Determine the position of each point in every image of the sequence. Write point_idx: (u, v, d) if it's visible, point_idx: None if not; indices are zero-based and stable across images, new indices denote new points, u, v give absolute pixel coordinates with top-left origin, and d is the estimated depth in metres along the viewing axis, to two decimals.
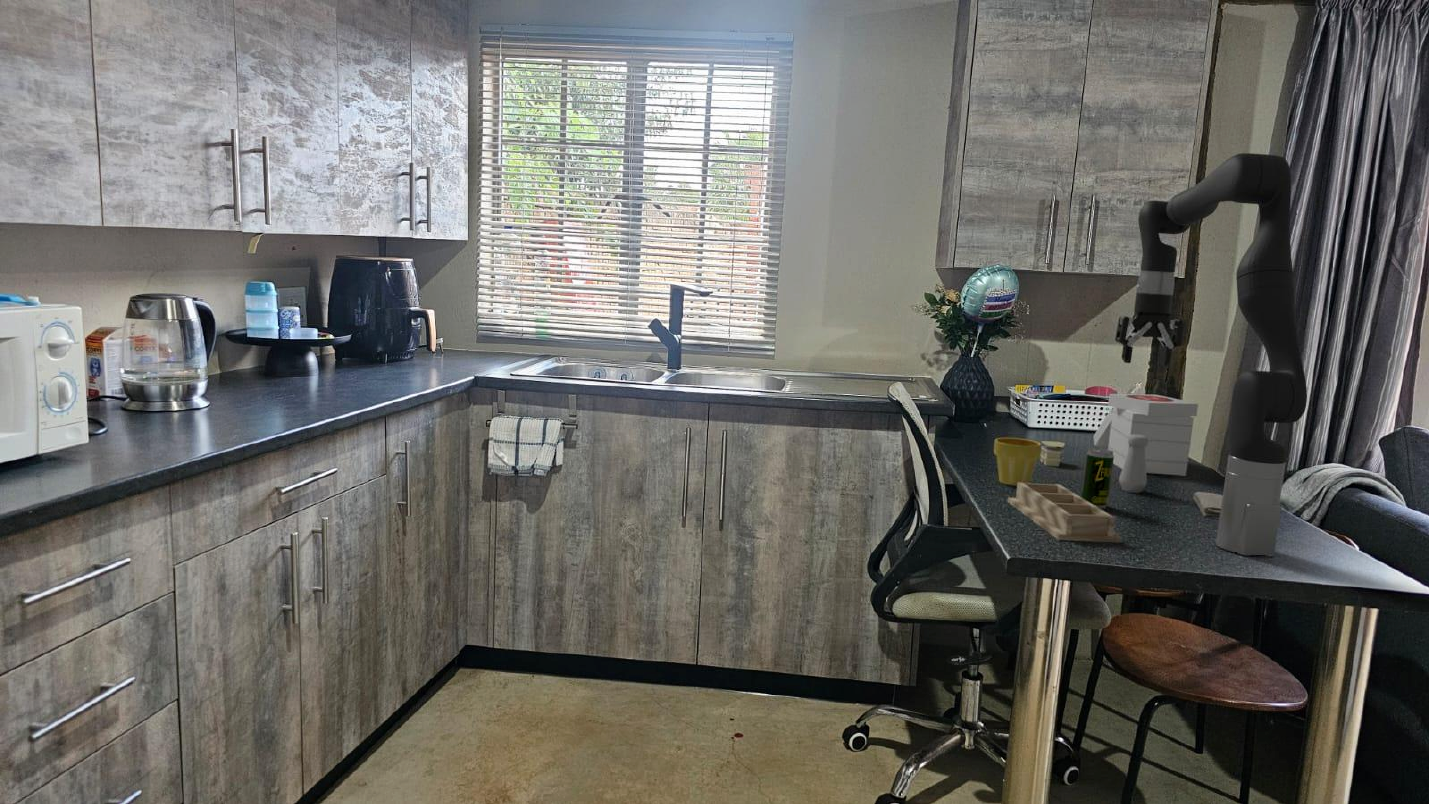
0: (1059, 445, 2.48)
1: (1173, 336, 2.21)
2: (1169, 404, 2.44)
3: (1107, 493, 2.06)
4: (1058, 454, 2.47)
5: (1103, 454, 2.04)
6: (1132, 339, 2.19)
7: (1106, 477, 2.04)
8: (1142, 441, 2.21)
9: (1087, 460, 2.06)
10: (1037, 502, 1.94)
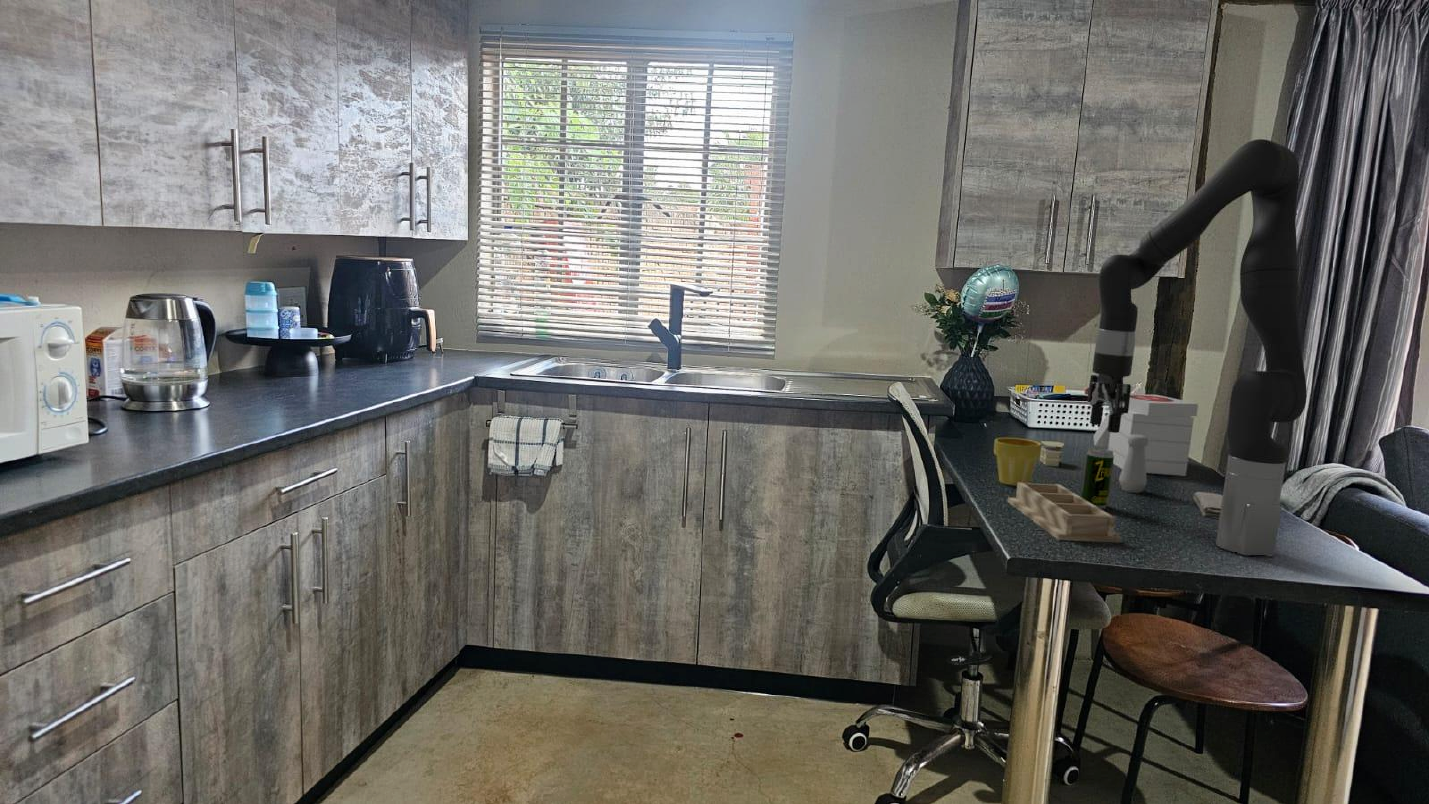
0: (1058, 445, 2.48)
1: None
2: (1169, 404, 2.44)
3: (1107, 493, 2.06)
4: (1057, 454, 2.47)
5: (1103, 454, 2.04)
6: None
7: (1106, 477, 2.04)
8: (1141, 441, 2.21)
9: (1087, 460, 2.06)
10: (1037, 502, 1.94)
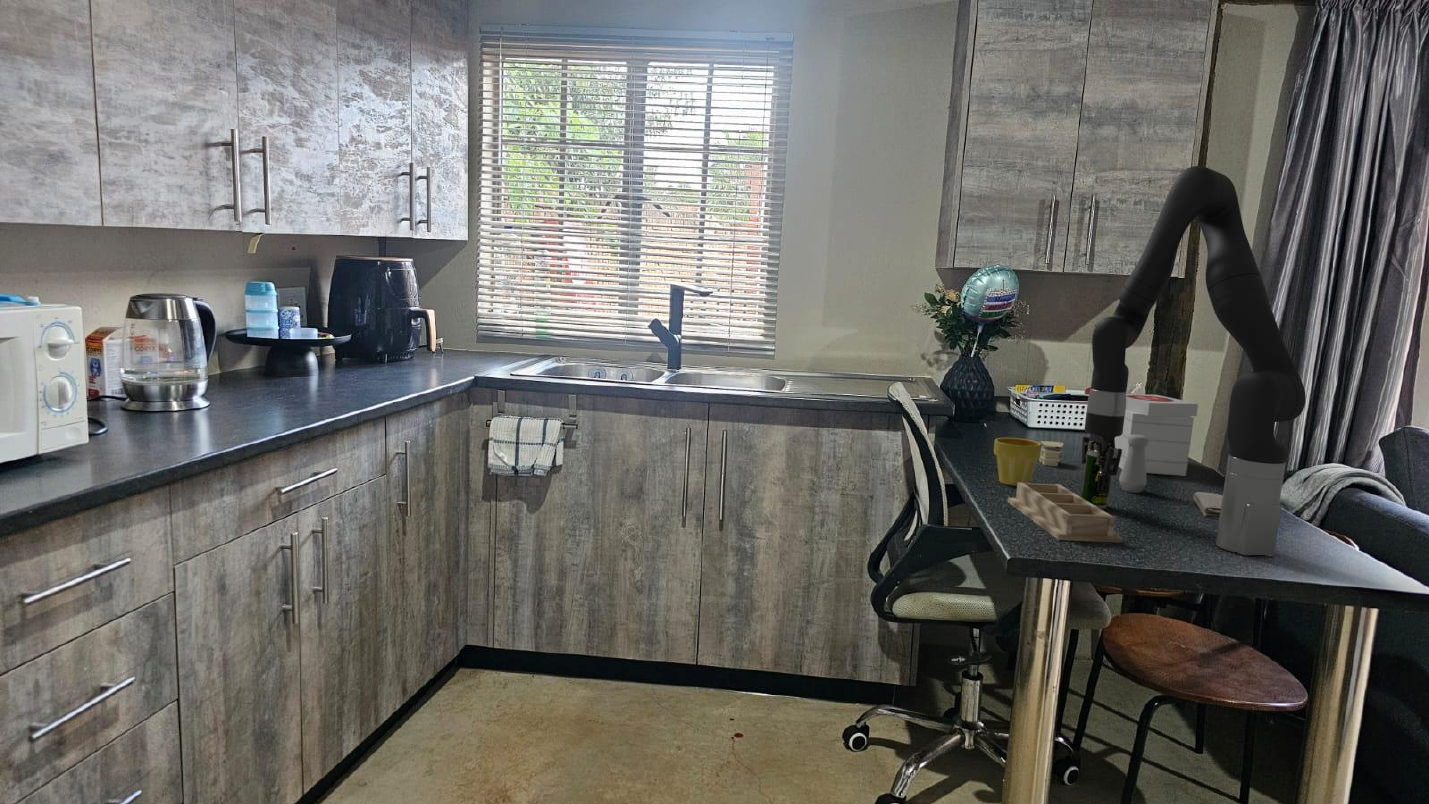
0: (1058, 445, 2.48)
1: None
2: (1169, 404, 2.44)
3: (1107, 493, 2.06)
4: (1056, 454, 2.47)
5: None
6: None
7: None
8: (1141, 441, 2.21)
9: (1087, 460, 2.06)
10: (1037, 502, 1.94)
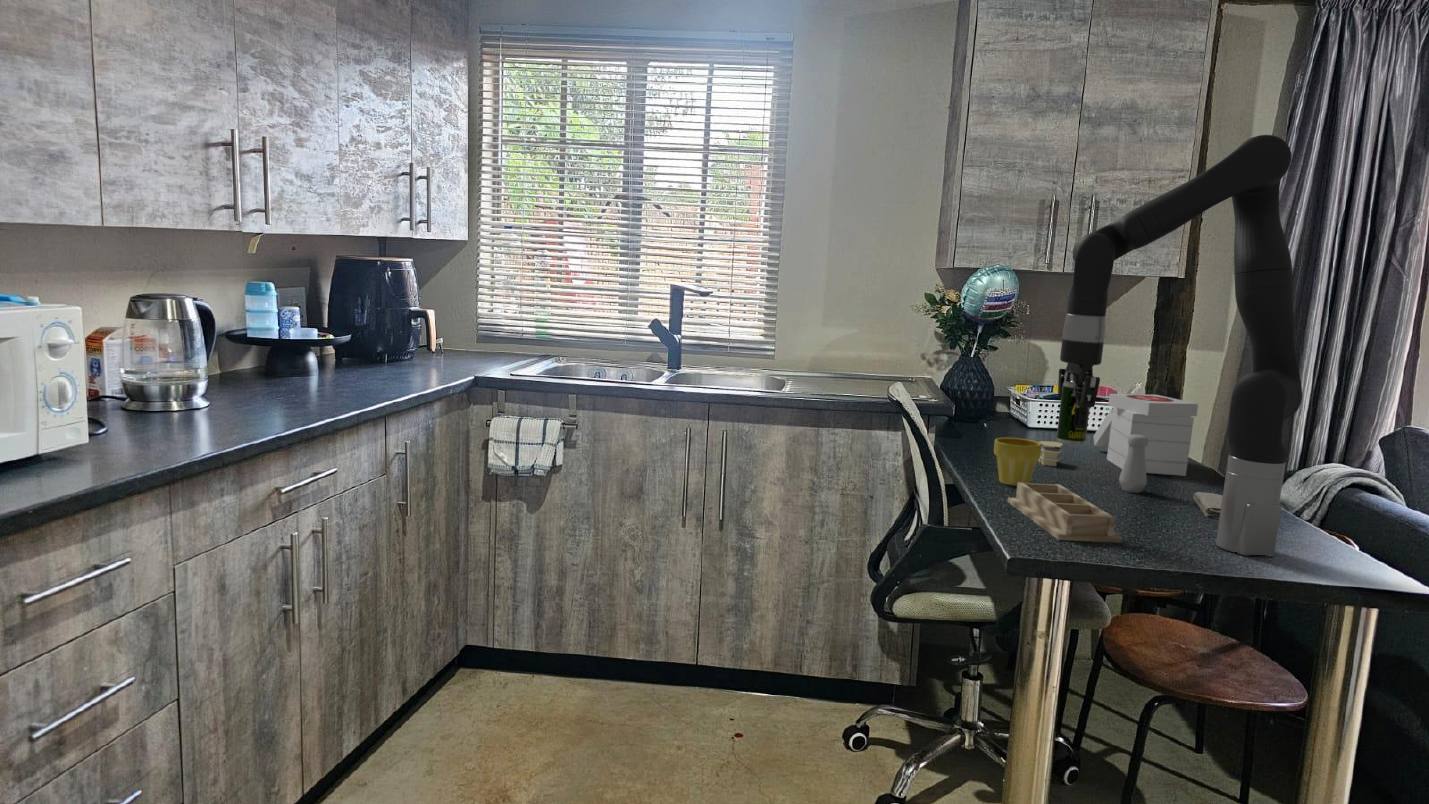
0: (1056, 445, 2.48)
1: None
2: (1169, 404, 2.44)
3: (1085, 428, 1.89)
4: (1055, 454, 2.47)
5: None
6: None
7: None
8: (1141, 441, 2.21)
9: (1063, 392, 1.89)
10: (1037, 502, 1.94)
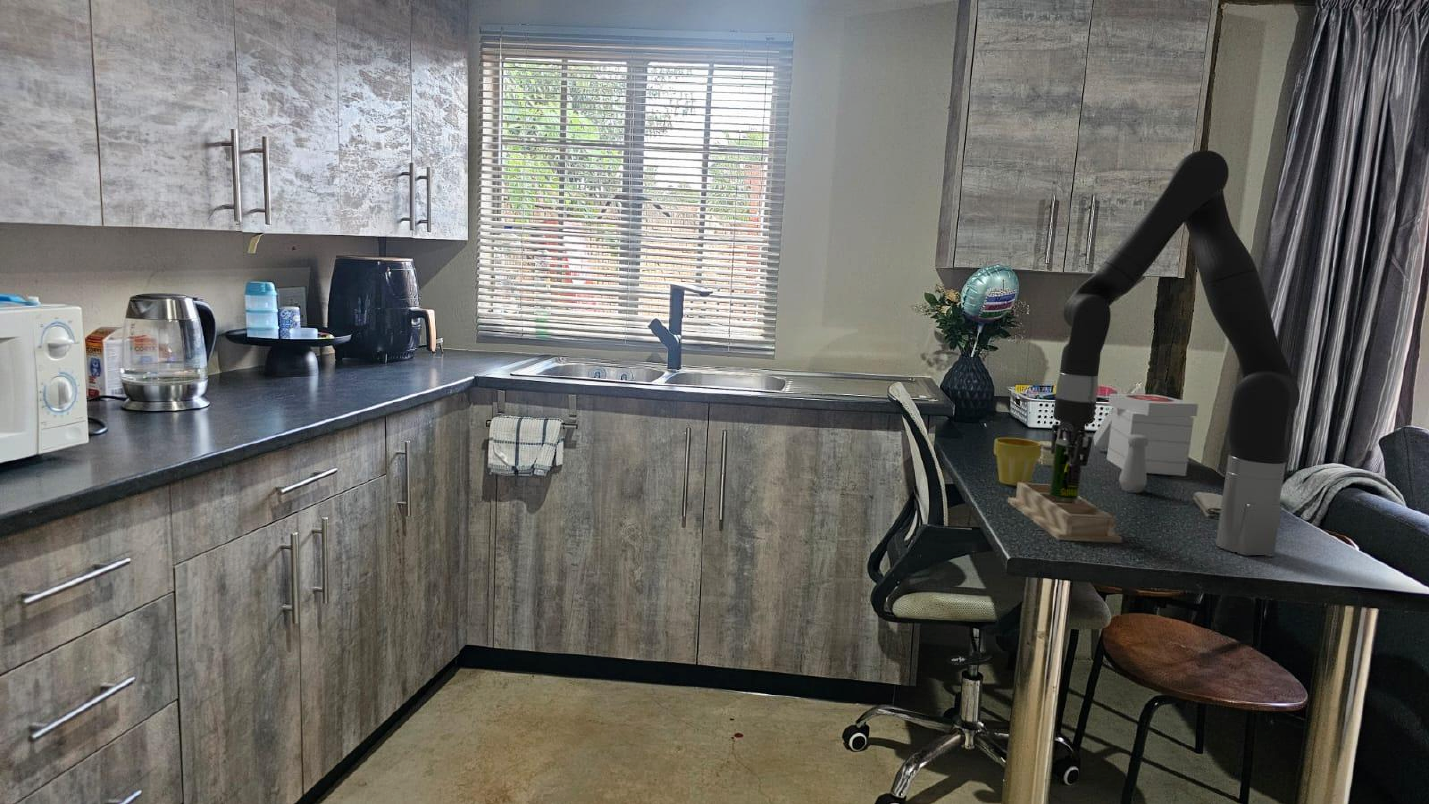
0: None
1: None
2: (1169, 404, 2.44)
3: (1077, 485, 1.90)
4: None
5: None
6: None
7: None
8: (1142, 441, 2.21)
9: (1056, 449, 1.91)
10: (1037, 502, 1.94)
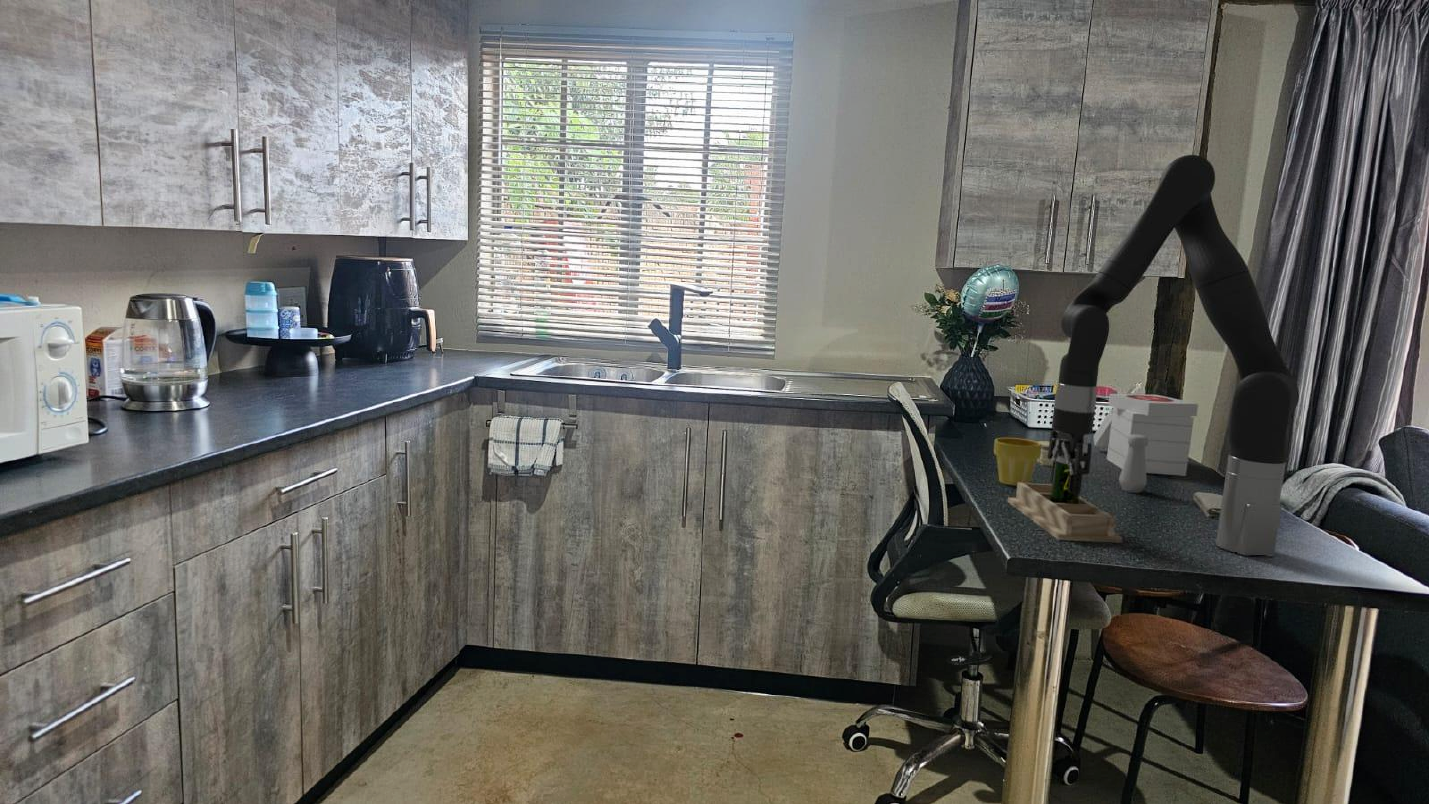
0: None
1: None
2: (1169, 404, 2.44)
3: (1076, 503, 1.91)
4: None
5: None
6: None
7: None
8: (1141, 441, 2.21)
9: (1056, 467, 1.91)
10: (1037, 502, 1.94)
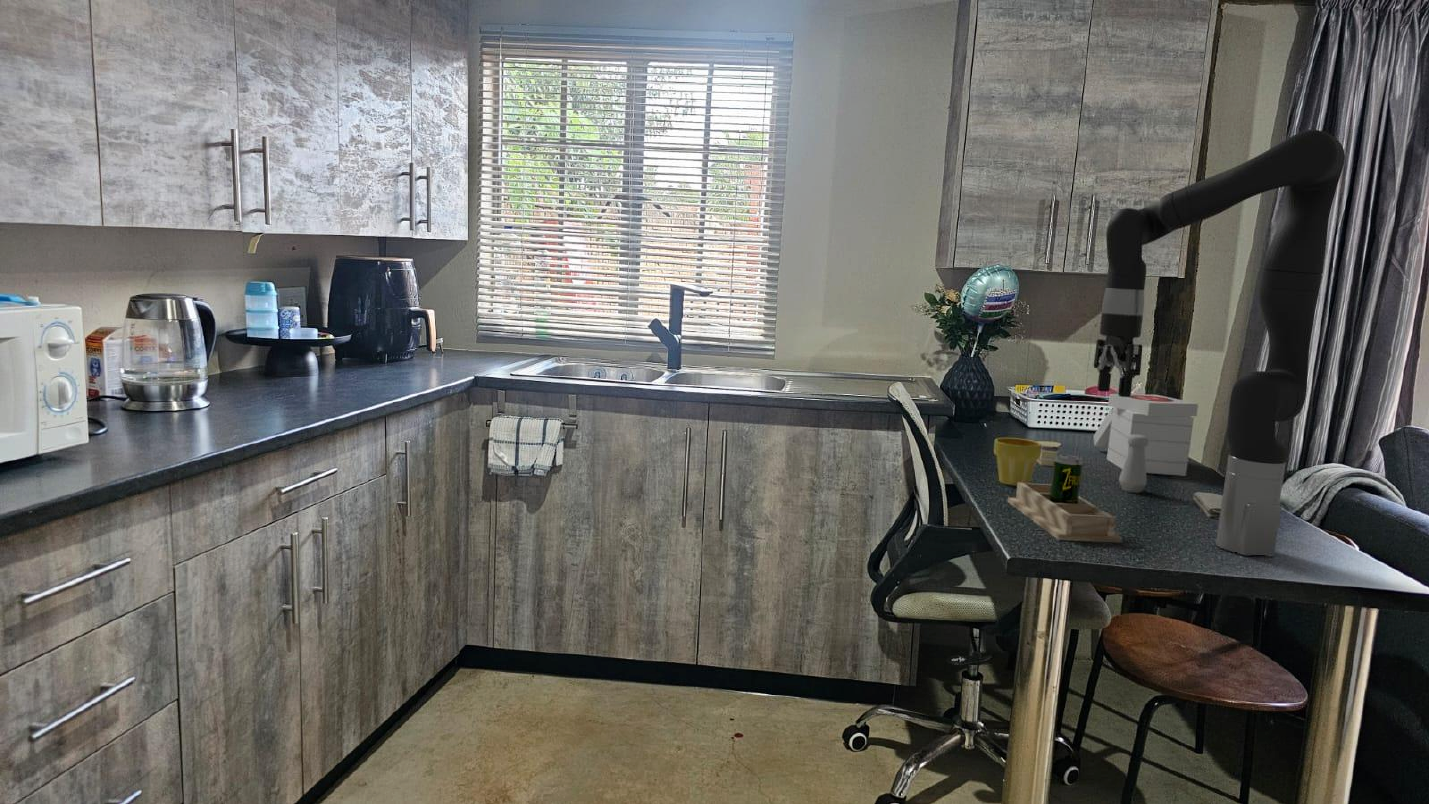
0: (1054, 445, 2.48)
1: None
2: (1169, 404, 2.44)
3: (1075, 503, 1.91)
4: (1053, 454, 2.47)
5: (1071, 461, 1.89)
6: None
7: (1074, 486, 1.90)
8: (1141, 441, 2.21)
9: (1054, 467, 1.91)
10: (1037, 502, 1.94)
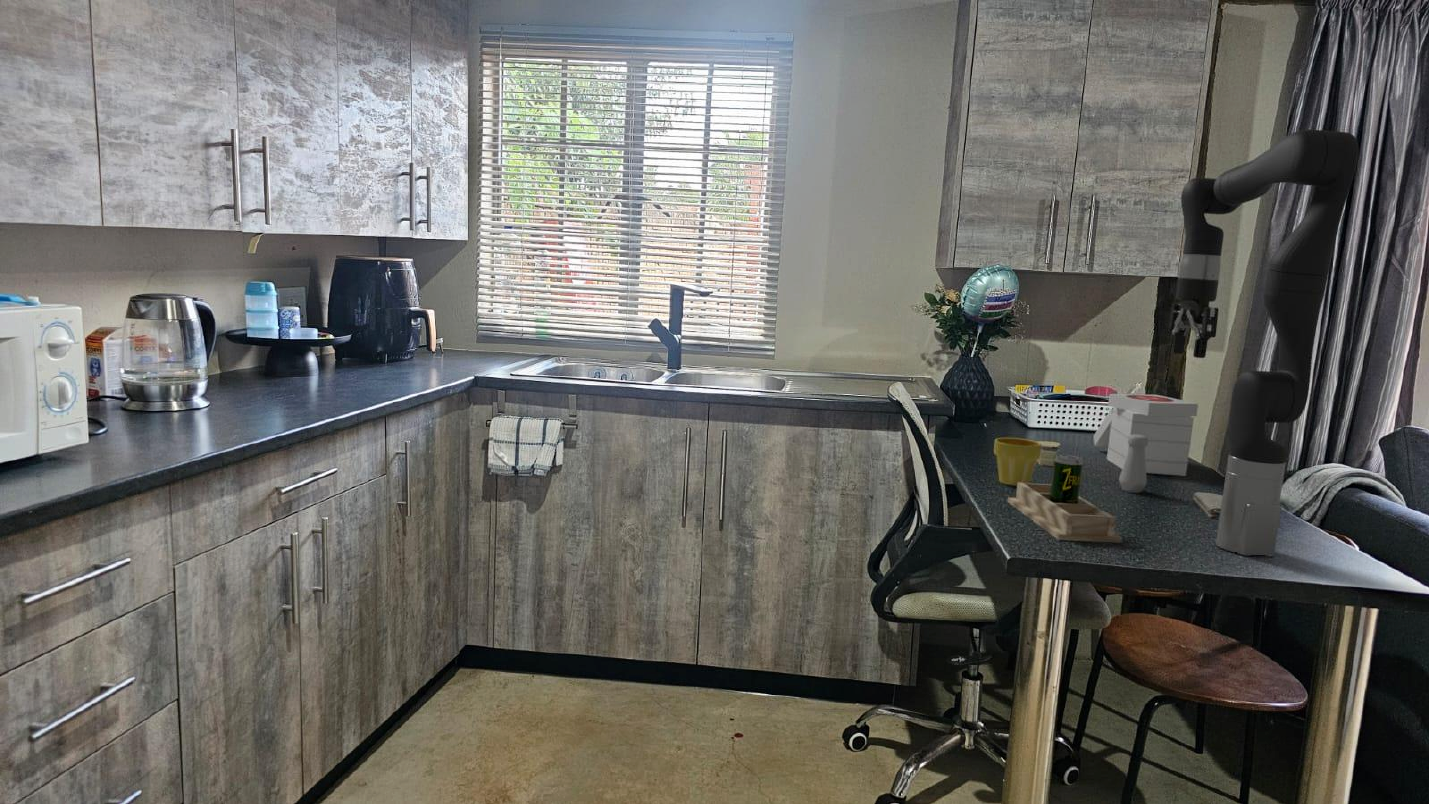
0: (1053, 445, 2.48)
1: None
2: (1169, 404, 2.44)
3: (1076, 503, 1.91)
4: (1052, 454, 2.47)
5: (1071, 461, 1.89)
6: None
7: (1074, 486, 1.90)
8: (1141, 441, 2.21)
9: (1054, 467, 1.91)
10: (1037, 502, 1.94)
